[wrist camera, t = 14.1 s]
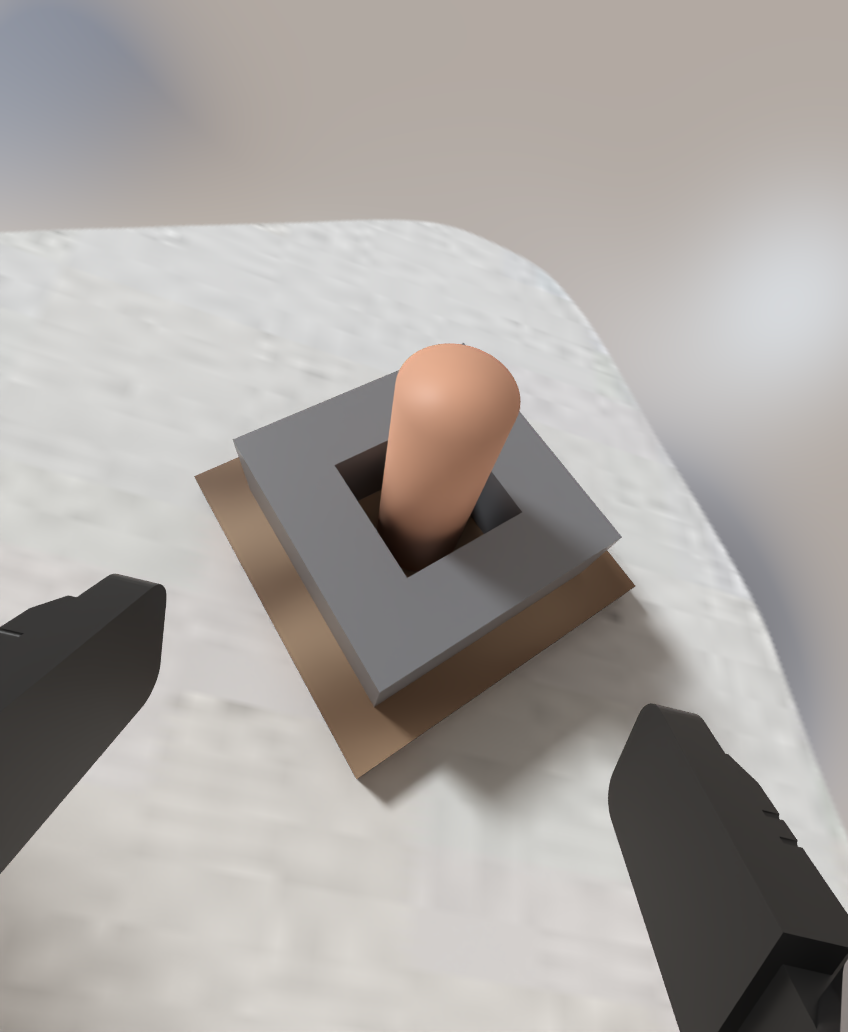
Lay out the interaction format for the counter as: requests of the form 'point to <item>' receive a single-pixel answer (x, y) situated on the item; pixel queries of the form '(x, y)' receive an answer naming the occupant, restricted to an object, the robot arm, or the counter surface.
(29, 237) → the counter surface
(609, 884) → the counter surface
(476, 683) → the socket board
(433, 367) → the peg
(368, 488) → the socket
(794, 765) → the counter surface
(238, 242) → the counter surface
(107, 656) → the robot arm
